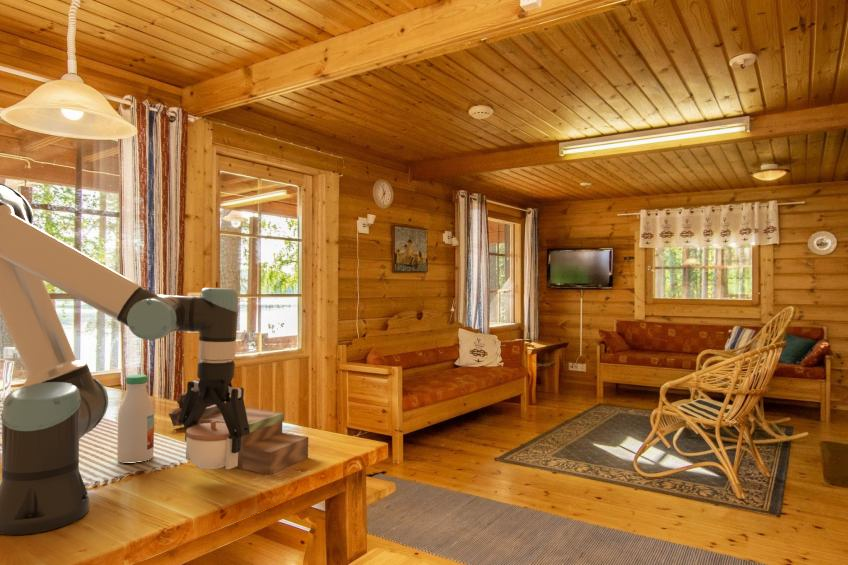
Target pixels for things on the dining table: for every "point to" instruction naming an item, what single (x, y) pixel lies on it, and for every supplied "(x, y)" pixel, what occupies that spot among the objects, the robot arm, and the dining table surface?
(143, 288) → the robot arm
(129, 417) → the milk bottle
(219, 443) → the lidded jar
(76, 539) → the dining table surface
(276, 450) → the stepped stand
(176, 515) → the dining table surface
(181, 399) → the wooden carving
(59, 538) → the dining table surface
